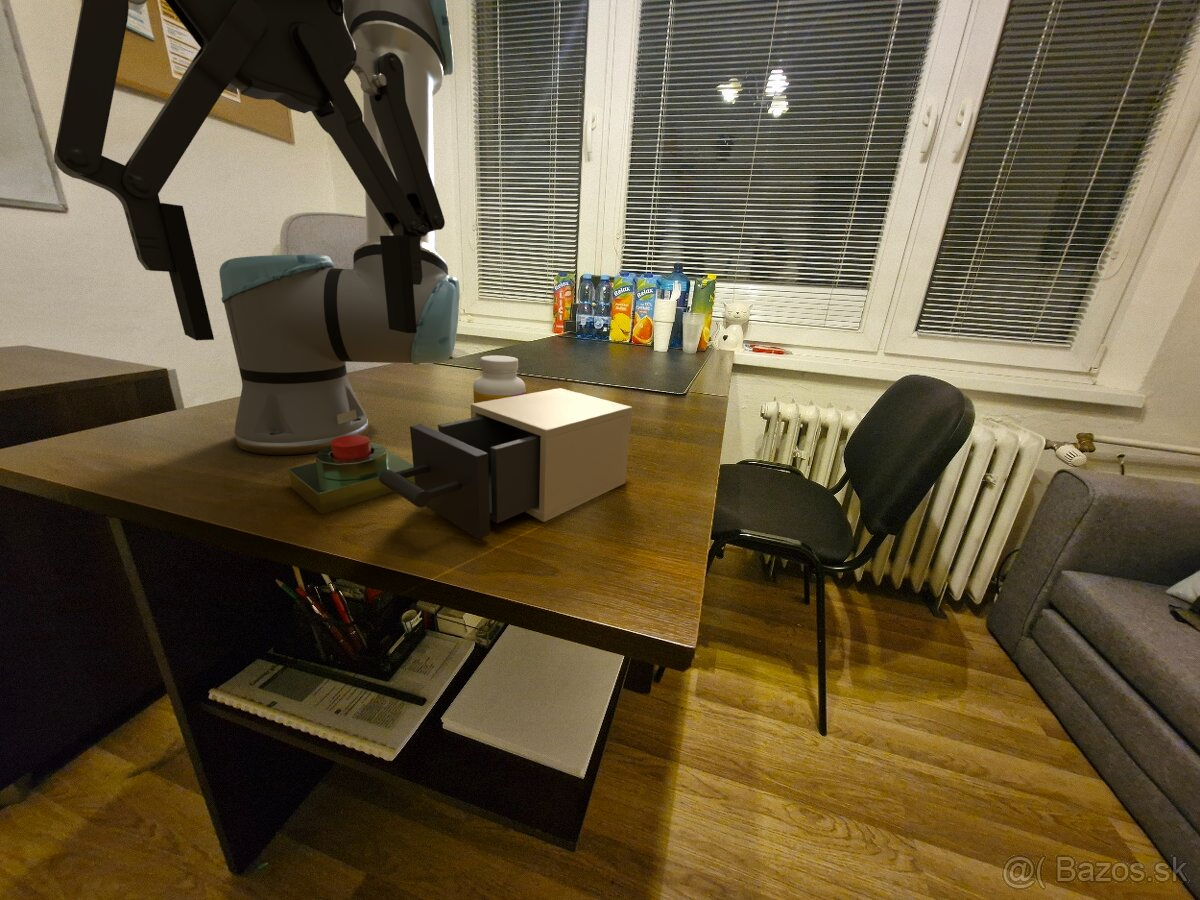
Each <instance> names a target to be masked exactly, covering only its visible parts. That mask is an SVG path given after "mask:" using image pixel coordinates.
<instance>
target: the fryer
mask: <svg viewBox="0 0 1200 900" xmlns="http://www.w3.org/2000/svg"><path fill="white" fill-rule="evenodd" d="M632 415H633V406H630V405H626V404H622V403H618V402H616V401H615V402H614V401H611V400H607V399H604V398H599V397H595V396H592V395H587V394H584V393H580V392H576V391H573V390H568V389H565V388H561V387H558V388H553V389H546V390H542V391H536V392H530V393H525V394H524V395H518V396H513V397H507V398H502V399H496V400H490V401H485V402H479V403H474V402H473V403H470V418H475V417H479V416H486V417H489V418H492V419H495V420H498V421H500V422H503V423H506V424H509V425H511V426H514V427H517V428H520V429H522V430H525V431H528V432H531V433H533V434H536V435H539V436H541V439H540V490H539V505H538V506H536V507H534V508H532V509H529V510H527V511H525V512H524V513H526V514H527V515H529V516H532V517H533V518H535V519H537V520H539V521H541V522H543V523H546V522H548V521H549V520H551V519H553V518H556V517H558V516H560V515H562V514H565V513H566V512H569V511H570V510H573V509H574V508H576V507H578V506H581V505H583V504H585V503H587V502H589V501H591V500H593V499H595V498H597V497H599V496H601V495H603V494H605V493H608V492H609V491H612V490H614V489H616V488H619V487H620V486H622V485H624V484H626V480H627V479H626V478H627V467H628V458H629V447H630V445H629V444H630V435H631V425H632Z"/></svg>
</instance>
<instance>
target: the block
mask: <svg viewBox="0 0 1200 900" xmlns="http://www.w3.org/2000/svg"><path fill="white" fill-rule="evenodd" d="M370 443H371V451H372V454H370V455H369V456H367V457H362V458H358V459H348V460H341V459H334V458H333V453H332V446H330V447H328V448H326V449H323V450H321V451H319V452H317V454H316V456H315V462H312V463H308V464H304V465H300V466H295V467H291V468H290V467H289V468H287V473H288V478H289V483H290V487H291V488H290V489H292V490H293V491H294V492H296V493H297V494H298V495H299V496H300V497H301V498H302V499H304V500H305V501H306V502H307V503H308V504H309V505H311V507H313V508H314V509H315V510H316V511H317V512H318V513H319V514H320V515H324V514H327V513H329V512H333V511H337V510H340V509H343V508H347V507H349V506H352V505H355V504H360V503H363V502H365V501H366V502H367V501H369V500H372V499H375V498H378V497H383V496H385V495H389V494H392V493H395V492H394V491H393V490H391V489H390V488H388V487H386V486H385V485H383V484H382V483H381V482H380V481H379V475H380V474H381V472H382V471H384V470H387V469H390V470H392V471H394V472H399V471H402V470H406V469H410V468H413V462H410V461H408V460H407V459H405V458H403V457H401V456H400V455H398V454H395V453H394V452H391V451H390V450H388V447H386V446H385V445H383V444H381V443H379V442H371V441H370ZM406 479H408V480H409V481H411V482H413V483H414V484H415V478H414V476H411V477H408V478H406Z"/></svg>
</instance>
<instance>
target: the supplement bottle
mask: <svg viewBox="0 0 1200 900" xmlns="http://www.w3.org/2000/svg"><path fill="white" fill-rule="evenodd" d="M480 368H481V370H482V374H481V376H478V377H477V378H475V380H474V381H473V388H472V389H473V392H472V393H473V404H474V403H479V402H485V401H490V400H496V399H502V398H507V397H513V396H518V395H524V394H527V393H526V392H527V391H526V384H525V381H524V380H523V379H522V378H520V377H518V376H517V372H518V369H519V359H518V358H517V357H513V356H509V355H483V356H481V357H480Z"/></svg>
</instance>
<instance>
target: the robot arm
mask: <svg viewBox="0 0 1200 900" xmlns="http://www.w3.org/2000/svg"><path fill="white" fill-rule="evenodd" d="M147 1H148V0H81V6H80V11H79V15H78V16H79V17H78V22H77V28H76V33H75V38H74V42H73V47H72V48H73V49H72V54H71V61H70V66H69V70H68V76H67V81H66V86H65V92H64V98H63V102H62V103H63V104H62V109H61V115H60V120H59V125H58V130H57V136H56V142H55V147H54V151H53V152H54V153H53V161H54V164H55V165H56V168H58V169H59V171H61V172H62V173H63V174H65V175H66V176H68V177H71V178H72V179H76V180H81V181H83V182H86V183H88V184H91V185H93V186H96V187H98V188H101V189H104V190H106V191H107V192H109V193H111V194H112V195H114V197H116V198H117V200H118V201H119V203H121V206H122V209H123V212H124V216H125V219H126V222H127V226H128V229H129V233H130V237H131V240H132V245H133V247H134V251H135V254H136V258H137V261H139V263H140V265H141V266H142V267H143V268H144V270H146V271H149V272H150V271H151V272H165V273H166V272H167V273H168V274H169V278H170V282H171V286H172V290H173V294H174V297H175V301H176V306H177V309H178V313H179V317H180V320H181V321H180V322H181V324H182V328H183V332H184V335H185V336H187V337H189V338H191V339H192V340H194V341H214V340H215V337H214V336H215V335H214V333H213V328H212V324H211V319H210V315H209V310H208V307H207V302H206V299H205V294H204V290H203V286H202V282H201V277H200V274H199V273H200V272H199V269H198V265H197V261H196V256H195V251H194V248H193V247H194V246H193V245H192V244H193V243H192V240H191V235H190V230H189V227H188V222H187V218H186V213H185V209H184V206H183V205H180V204H172V203H165V202H161V200H160V196H159V194H160V192H161V190H162V189H163V188H164V186H165V184H166V183H167V181H168V179H170V177H171V175H172V173H173V172H174V170H175V168H176V166H177V165H178V164H179V162H180V161H181V159H182V157H183V156H184V154H185V153H186V151H187V149H188V148H189V146H190V145H191V143H192V141H193V140H194V138H195V136H196V135H197V134H198V132H199V130H200V129H201V127H202V126H203V124H204V122H205V121H206V119H207V118H208V117H209V115H210V113H211V111H212V110H213V109H214V107H215V105H216V103H217V102H218V100H219V99H220V97H221V95H222V94H223V93H224V92H225V90H226V89H227V88H228V87H229V85H231V86H232V87H234V88H235V89H237V90H239V93H240V95H242V96H245V97H248V98H251V99H255V100H268V101H269V100H271V101H275V102H276V103H278V104H280V105H282V106H284V107H285V108H287V109H289V110H292V111H295V112H299V113H302V114H308V113H309V112H311V113H312V116H314V118H315V120H316V121H317V123H318V125H319V126H320V127H321V129H322V130H324V132H325V133H327V134H328V135H329V136H330V137H331V139H332V140H333V142H334V144H335V145H336V146H337V148H338V150H339V152H340V153H341V155H342V156H343V158H344V159H345V161H346V162H347V164H348V166H349V168H350V169H351V171H352V172H353V173H354V175H355V177H356V178H357V180H358V181H359V183H360V184H361V186H362V188H363V190H364V192H365V194H364V196H365V197H364V199H365V240H366V241H365V242H363V243H362V244H360V245H359V246H357V247H356V248H355V249H354V251H353V255H352V256H353V258H352V259H353V268H337V267H335V263H334V261H332V259H331V257H330V256H329V255H325V254H271V255H269V254H268V255H252V256H241V257H240V256H239V257H233V258H229V259H228V260H225V261H224V262H223V263H222V264H220V268H219V281H220V289H221V296H222V297H221V302H222V304H223V306H224V310H225V315H226V319H227V322H228V323H227V324H228V327H229V331H230V337H231V340H232V345H233V349H234V353H235V357H236V362H237V367H238V369H239V375H240V379H241V393H240V398H239V403H238V408H237V414H236V418H235V426H234V435H235V436H234V437H235V440H236V443H237V444H236V445H237V447H239V449H241V450H243V451H246V452H250V453H252V454H259V455H268V456H269V455H271V456H289V455H290V456H291V455H294V456H295V455H304V454H313V453H318V452H319V451H321V450H323V449H326V448H328V447H330V446H331V441H332V440H334V439H336V438H339V437H342V436H348V435H363V436H367V435H368V434H369V433H370V427H369V420H368V417H367V415H366V412H365V410H364V408H363V407H362V405H361V403H360V401H359V399H358V397H357V394H356V393H355V391H354V389H353V387H352V385H351V383H350V380H349V378H348V371H347V365H346V364H347V363H377V364H379V363H382V364H412V365H414V366H419V365H421V364H442V363H445V362H446V361H449V359H450V358H451V357H452V355H453V353H454V350H455V346H456V341H457V333H458V325H459V316H460V314H459V313H460V309H459V308H460V295H461V294H460V293H461V292H460V281H459V279H458V278H457V277H456V276H453V275H452V274H449V265H448V263H447V261H446V260H445V259H444V258H443V257H442V256H441V255H440V254H439V253H438V252H437V233H436V231H441V230H443V229H444V227H445V225H446V221H445V216H444V214H443V211H442V208H441V205H440V202H439V198H438V196H437V192H436V189H435V157H434V156H435V154H434V117H433V116H434V115H433V97H434V96H435V95H436V94H437V93H438V92H439V91H440V89H441V87H442V85H443V80H444V76H448V75H449V76H451V75H452V74H453V73H454V69H455V66H454V64H455V63H454V53H453V42H452V34H451V27H450V22H449V10H448V4H447V0H164V1H165V3H166V4H167V6H168V7H169V8H170V9H171V10H172V12H173V14H174V15H175V16H176V17H177V19H178V20H179V21H180V23H181V24H182V25H183V27H184V28H185V29H186V31H187V32H188V33H189V34H190V36H191V37H192V38H193V40H194V41H195V42H196V44H197V45H198V47H200V48H199V50H198V51H197V52H196V54H195V56H194V57H193V58H192V60H191V62H190V63H189V65H188V67H187V68H186V69H185V71H184V73H183V74H182V77H181V78H180V80H179V81H178V83H177V84H176V86H175V87H174V89H173V91H172V92H171V94H170V96H169V97H168V99H167V100H166V102H165V103H164V105H163V106H162V108H161V109H160V111H159V112H158V113H157V116H156V117H155V119H154V120H153V122H151V125H150V126H149V128H147V131H146V132H145V134H144V135H143V137H142V139H141V140H140V142H139V143H138V144H137V147H136V148H134V149H135V150H134V151H133V152H132V154H131V155H130V157H129V158H128V160H127V161H126V163H125V164H123V163H120V162H118V161H115V160H114V159H111V158H109V157H106V156H104V155H103V151H104V145H105V140H106V134H107V129H108V124H109V118H110V113H111V109H112V102H113V98H114V92H115V87H116V82H117V78H118V77H117V76H118V72H119V66H120V61H121V55H122V51H123V45H124V41H125V35H126V32H127V31H126V30H127V25H128V19H129V10H130V11H140V10H143V8H144V7H145V5H146V3H147ZM351 71H353V72H354V73H355V74H356V76H357V77H358V79H359V81H360V89H361V90H362V99H363V101H362V102H363V111H362V109H361V107H360V105H359V104H358V102H357V100H356V98H355V96H354V95H353V93H352V91H351V90H350V88H349V86H348V84H347V83H346V79H347V77H348V76H349V74H350V73H351Z"/></svg>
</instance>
